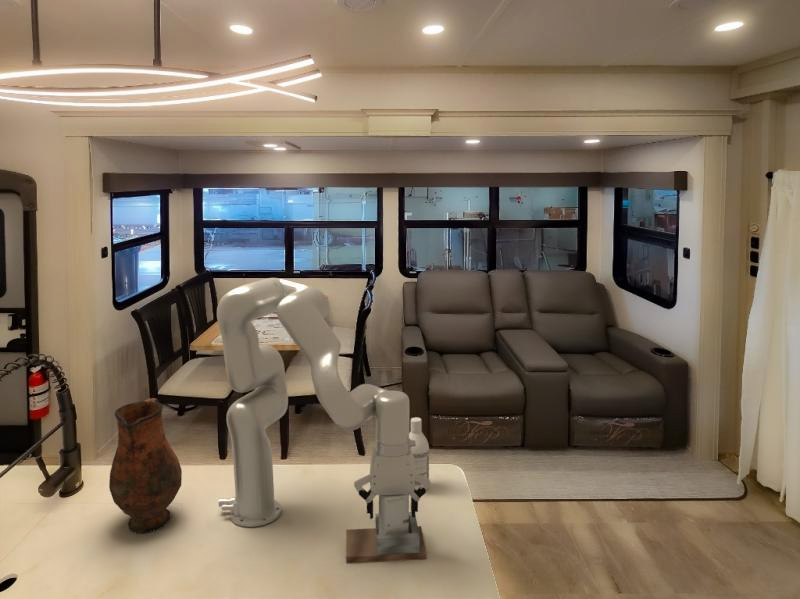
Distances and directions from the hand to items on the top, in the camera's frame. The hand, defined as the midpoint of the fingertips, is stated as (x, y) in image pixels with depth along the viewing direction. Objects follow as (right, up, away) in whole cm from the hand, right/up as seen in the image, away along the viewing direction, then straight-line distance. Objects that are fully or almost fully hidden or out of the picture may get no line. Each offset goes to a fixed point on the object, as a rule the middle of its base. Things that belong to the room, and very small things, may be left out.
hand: (392, 514), depth 148 cm
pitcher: (-61, -6, +15) cm, 63 cm away
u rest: (-2, -8, +1) cm, 8 cm away
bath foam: (+6, -2, +29) cm, 29 cm away
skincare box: (0, -7, +1) cm, 7 cm away
